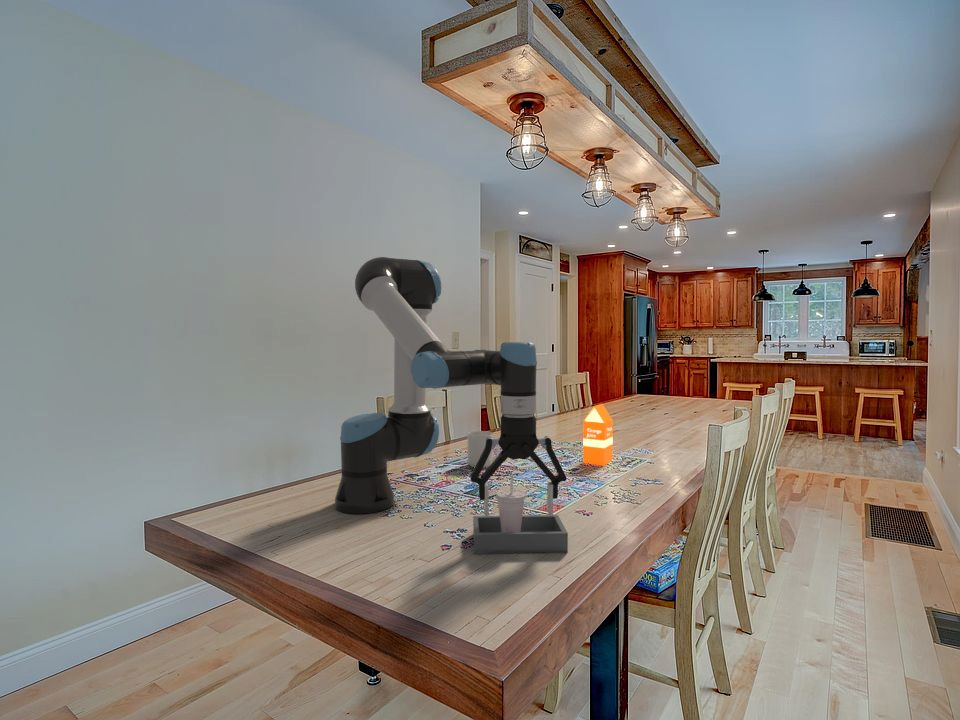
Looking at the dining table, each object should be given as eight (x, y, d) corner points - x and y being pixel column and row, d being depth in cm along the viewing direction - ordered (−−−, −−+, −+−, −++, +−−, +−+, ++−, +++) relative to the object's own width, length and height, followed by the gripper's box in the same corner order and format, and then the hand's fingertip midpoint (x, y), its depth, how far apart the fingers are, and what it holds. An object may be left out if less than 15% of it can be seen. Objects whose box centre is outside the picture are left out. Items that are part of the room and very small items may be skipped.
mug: (462, 466, 179) (462, 434, 178) (477, 461, 186) (477, 430, 185) (491, 472, 171) (491, 438, 171) (506, 466, 179) (506, 433, 178)
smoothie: (501, 545, 109) (501, 478, 108) (492, 534, 115) (492, 470, 114) (530, 542, 110) (530, 476, 110) (520, 531, 117) (520, 468, 116)
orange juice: (612, 460, 187) (613, 404, 186) (604, 465, 179) (604, 407, 178) (591, 457, 191) (591, 402, 190) (582, 462, 183) (582, 405, 182)
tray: (473, 533, 118) (473, 516, 118) (557, 532, 119) (557, 514, 118) (474, 554, 107) (474, 534, 107) (567, 552, 108) (567, 533, 107)
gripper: (459, 418, 107) (459, 520, 108) (580, 417, 108) (580, 519, 109) (459, 412, 115) (459, 508, 116) (573, 411, 116) (572, 507, 117)
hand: (518, 514), depth 113 cm, fingers open, 13 cm apart
